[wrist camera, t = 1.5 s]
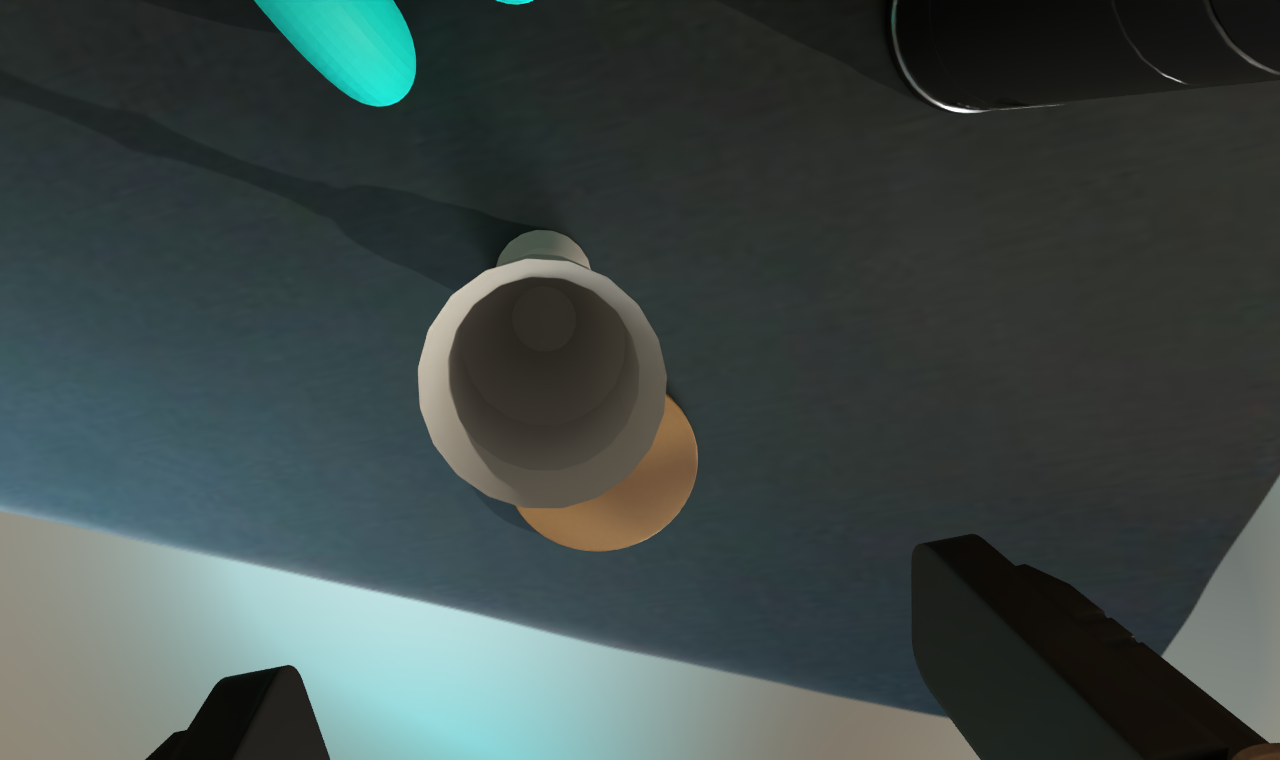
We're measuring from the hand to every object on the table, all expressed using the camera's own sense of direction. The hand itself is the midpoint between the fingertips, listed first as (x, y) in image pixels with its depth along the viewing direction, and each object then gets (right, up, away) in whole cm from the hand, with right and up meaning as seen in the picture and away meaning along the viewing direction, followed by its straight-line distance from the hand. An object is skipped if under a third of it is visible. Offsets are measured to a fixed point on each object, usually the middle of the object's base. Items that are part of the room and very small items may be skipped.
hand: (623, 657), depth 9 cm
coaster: (-2, -1, +31) cm, 31 cm away
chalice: (-5, +9, +27) cm, 29 cm away
